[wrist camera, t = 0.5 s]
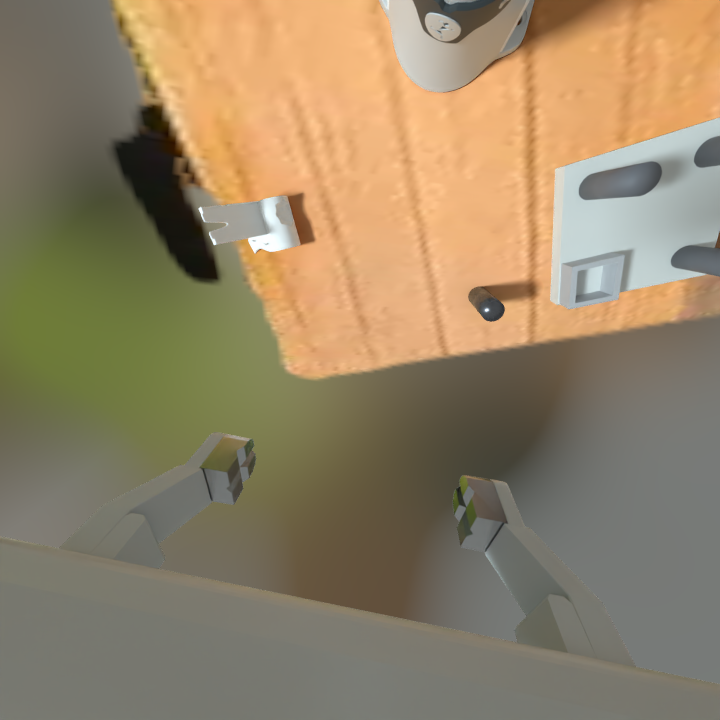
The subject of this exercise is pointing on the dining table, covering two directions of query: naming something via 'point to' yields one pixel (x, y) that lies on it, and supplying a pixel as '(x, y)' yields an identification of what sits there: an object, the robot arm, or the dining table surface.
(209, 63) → the dining table surface
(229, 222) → the plastic part
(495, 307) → the stool leg
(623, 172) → the stool seat
